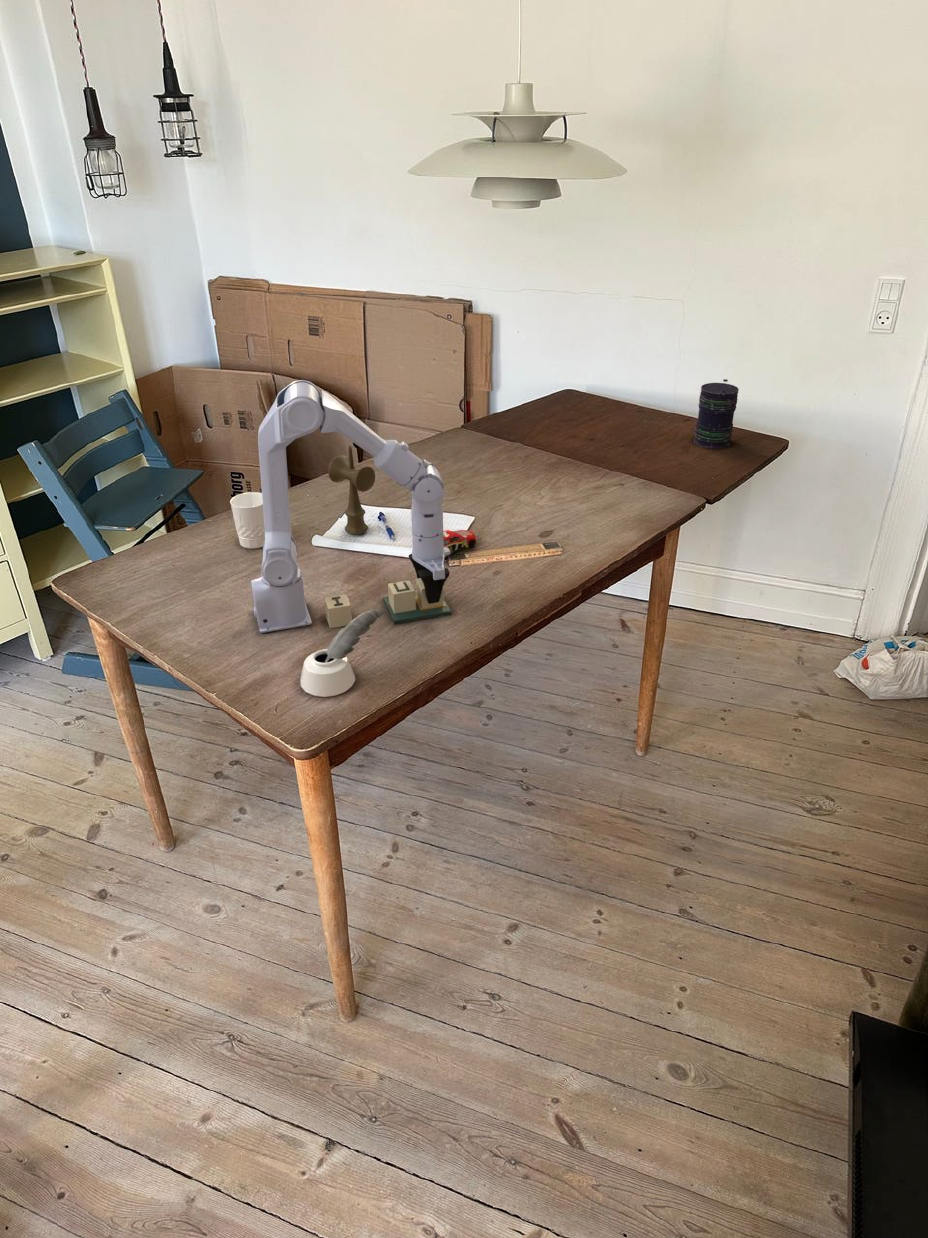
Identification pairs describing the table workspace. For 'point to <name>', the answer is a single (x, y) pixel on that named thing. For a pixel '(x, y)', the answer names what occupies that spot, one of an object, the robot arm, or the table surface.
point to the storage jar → (716, 415)
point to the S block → (422, 595)
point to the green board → (417, 612)
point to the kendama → (352, 489)
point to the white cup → (249, 519)
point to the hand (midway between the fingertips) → (429, 595)
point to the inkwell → (336, 659)
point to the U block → (402, 596)
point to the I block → (338, 611)
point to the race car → (458, 540)
